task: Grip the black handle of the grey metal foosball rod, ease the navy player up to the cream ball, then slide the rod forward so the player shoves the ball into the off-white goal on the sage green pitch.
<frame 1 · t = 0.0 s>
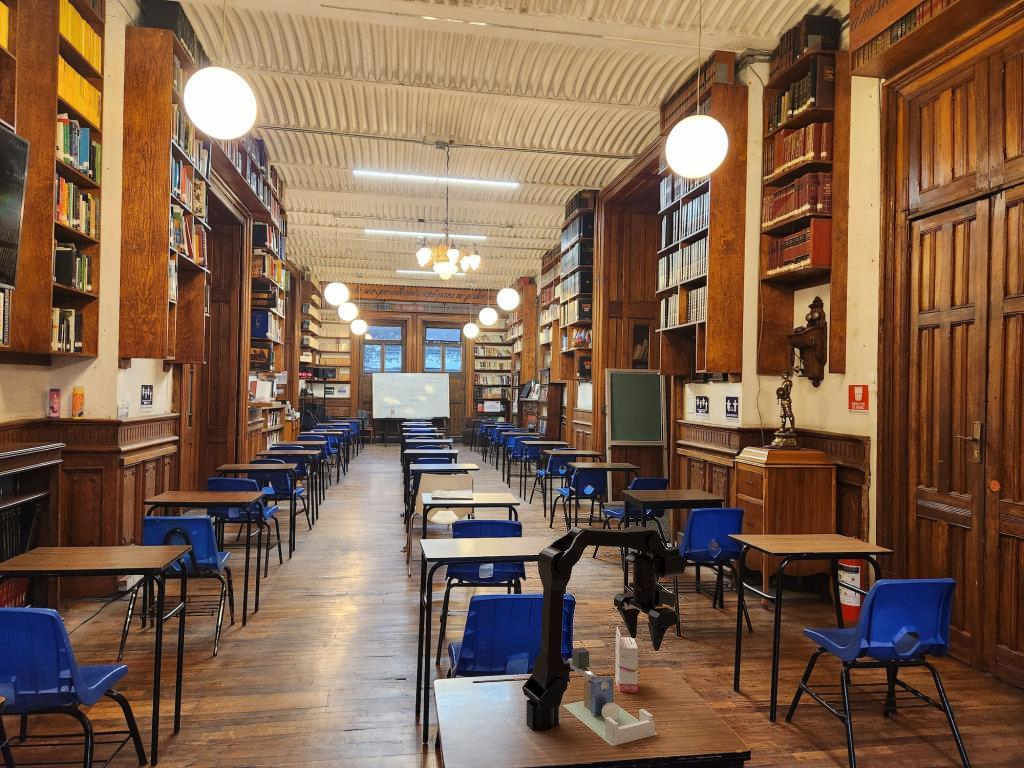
hand: (644, 644, 162), 15 cm above the table, tool pointing down, fingers open, 9 cm apart
goal: (629, 735, 145), resting on pitch
ink cartridge box: (626, 689, 171), on the table
player rod: (587, 677, 160), point 7 cm above the table, slide at 0.0 cm
pitch: (607, 723, 152), on the table
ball: (610, 711, 151), point 3 cm above the table, touching pitch
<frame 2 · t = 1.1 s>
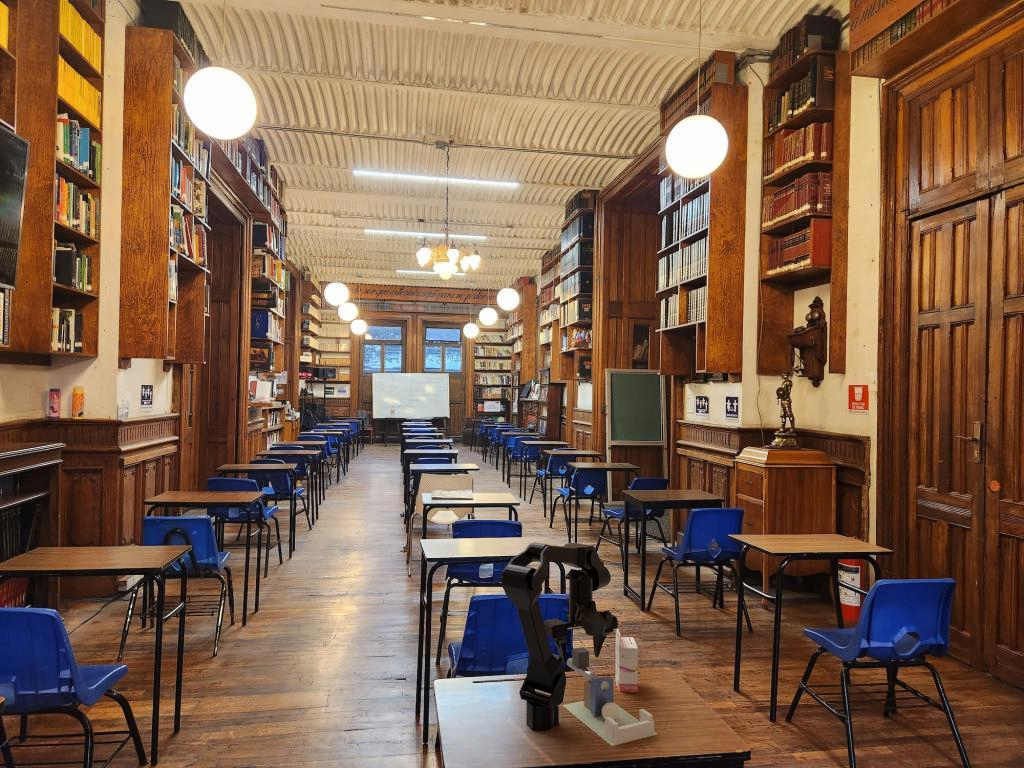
hand: (580, 659, 163), 10 cm above the table, tool pointing down, fingers open, 9 cm apart
nothing on the table moved.
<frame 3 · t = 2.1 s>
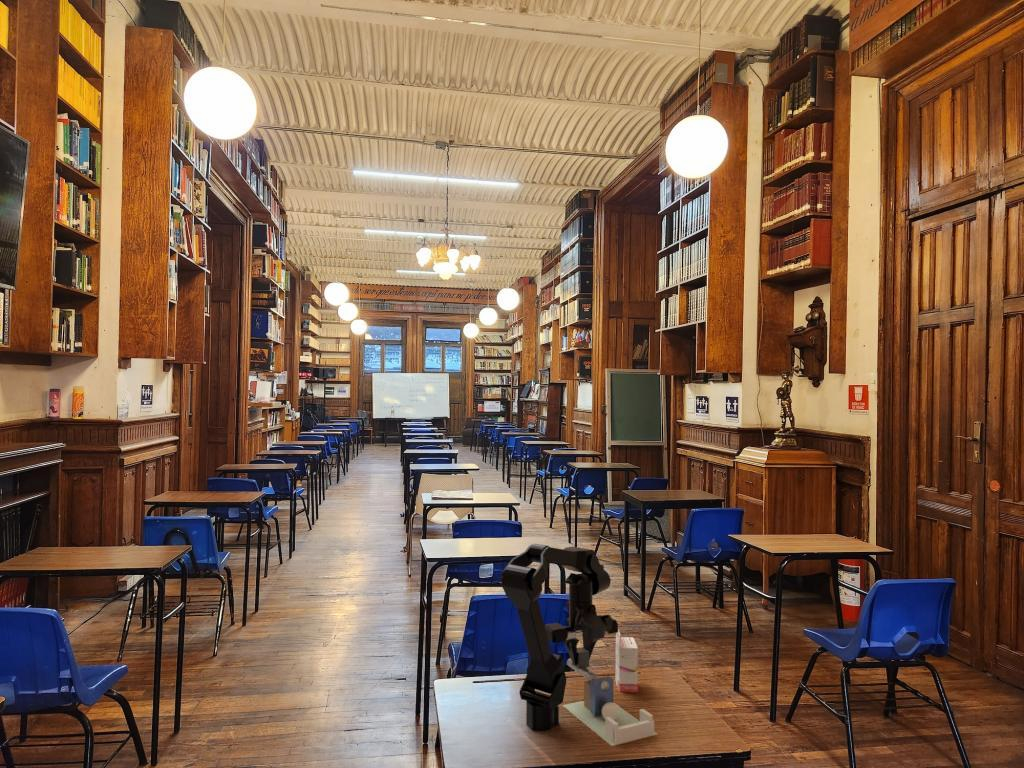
hand: (580, 663, 163), 9 cm above the table, tool pointing down, fingers closed on player rod, 3 cm apart
player rod: (587, 677, 160), point 7 cm above the table, slide at 0.0 cm, touching gripper
everything else where it was.
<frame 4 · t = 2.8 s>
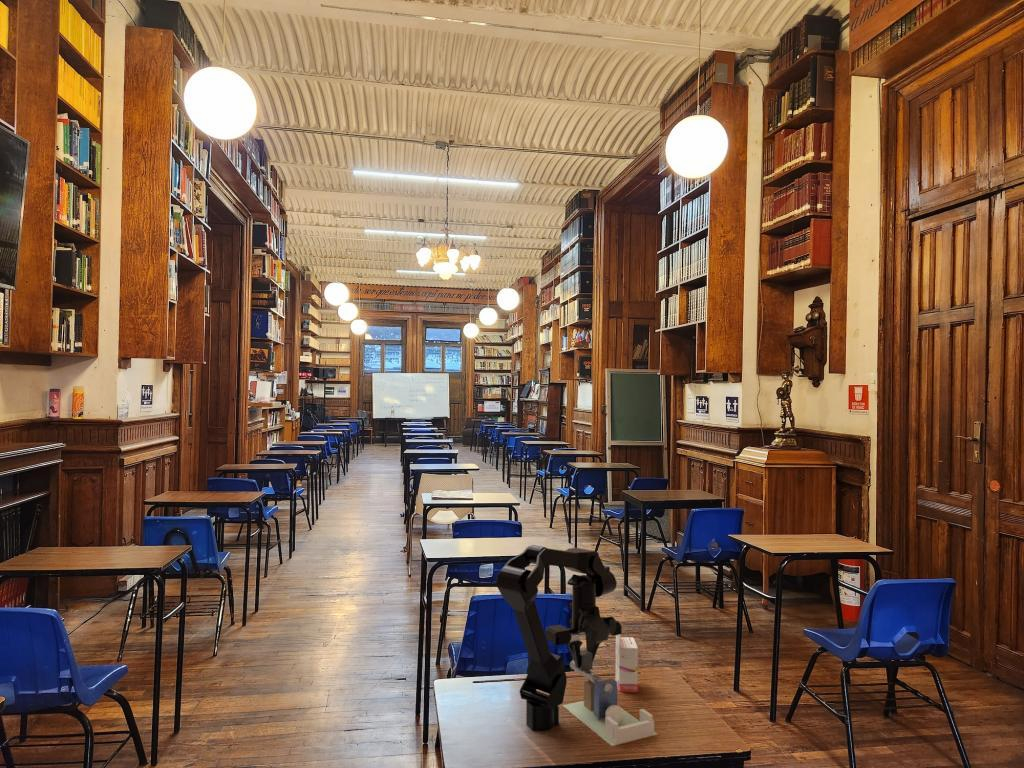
hand: (583, 666, 162), 9 cm above the table, tool pointing down, fingers closed on player rod, 3 cm apart
player rod: (590, 679, 159), point 7 cm above the table, slide at 1.5 cm, touching gripper
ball: (614, 714, 150), point 3 cm above the table, tilted 45°, touching pitch
everything else where it was.
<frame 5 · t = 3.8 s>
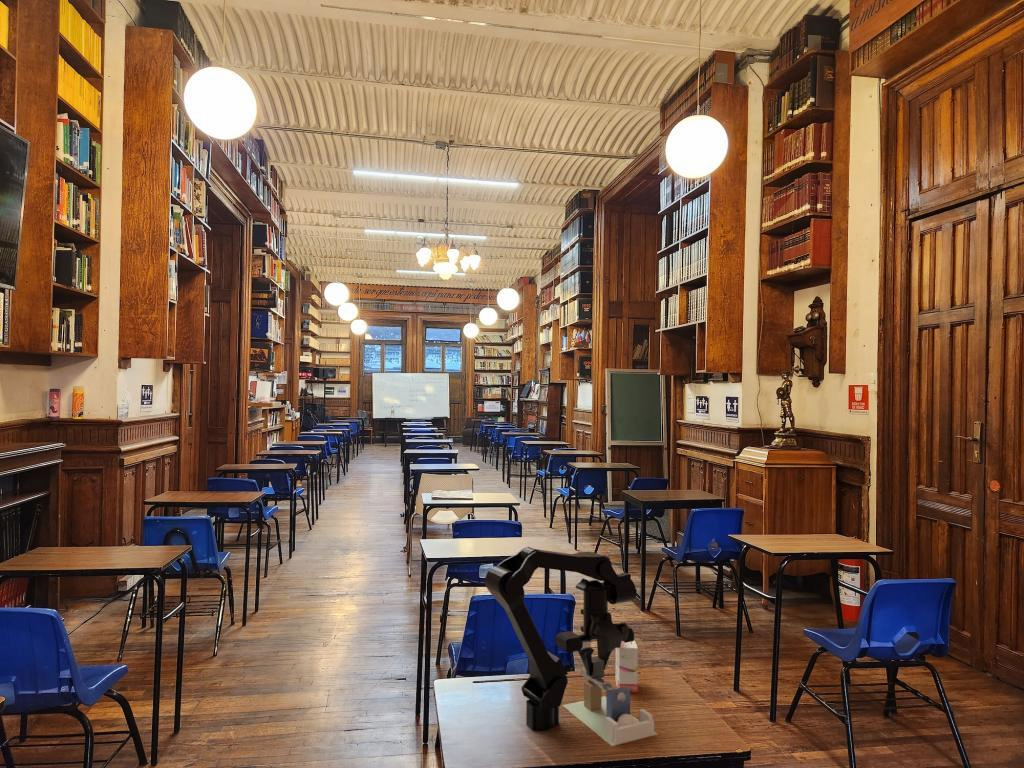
hand: (595, 673, 157), 9 cm above the table, tool pointing down, fingers closed on player rod, 3 cm apart
player rod: (602, 688, 154), point 7 cm above the table, slide at 6.6 cm, touching gripper
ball: (626, 723, 145), point 3 cm above the table, tilted 178°, touching pitch
everything else where it was.
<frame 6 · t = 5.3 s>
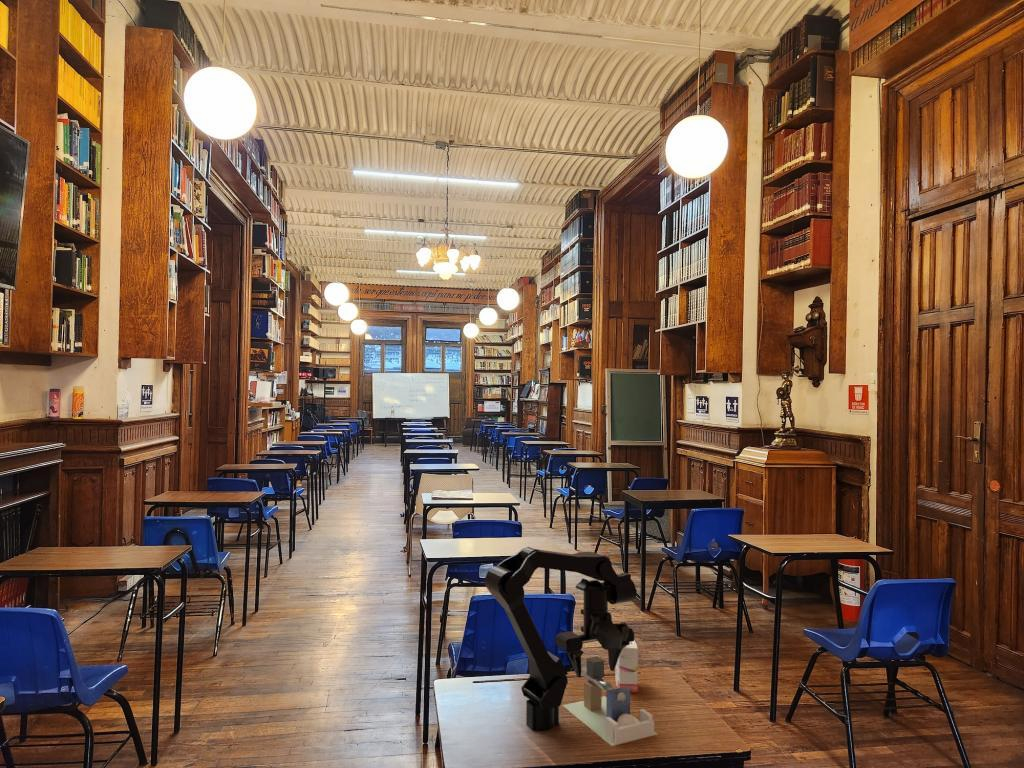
hand: (595, 673, 157), 9 cm above the table, tool pointing down, fingers open, 9 cm apart
player rod: (602, 688, 154), point 7 cm above the table, slide at 6.7 cm
everything else where it was.
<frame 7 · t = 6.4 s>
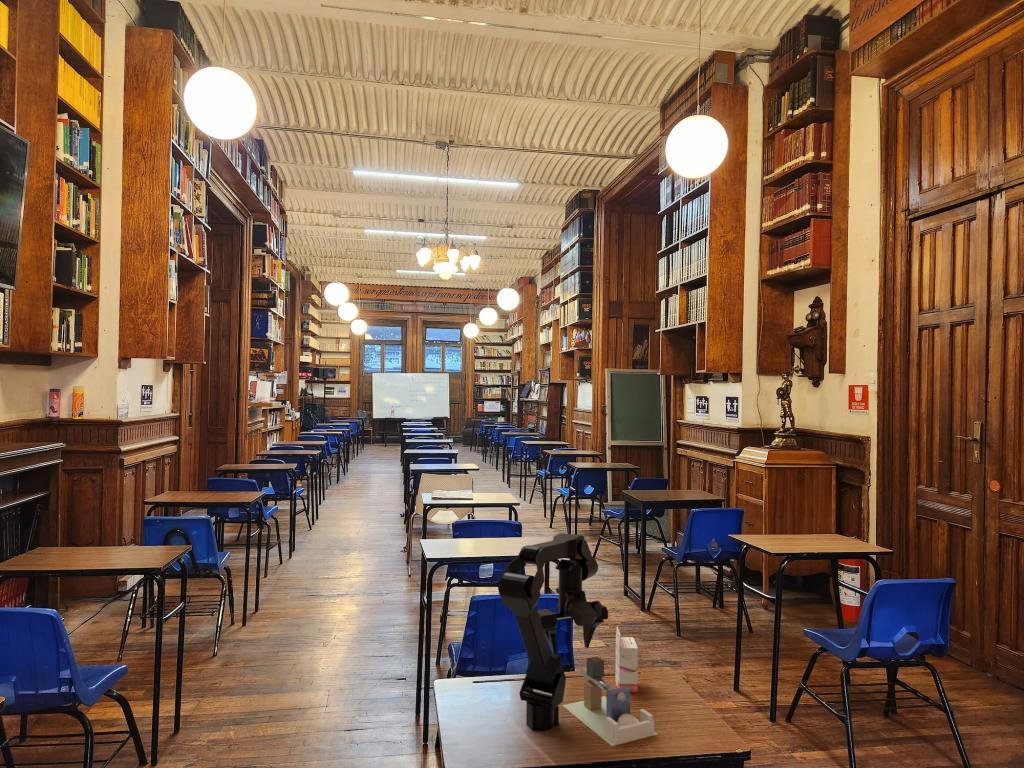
hand: (570, 650, 162), 13 cm above the table, tool pointing down, fingers open, 9 cm apart
nothing on the table moved.
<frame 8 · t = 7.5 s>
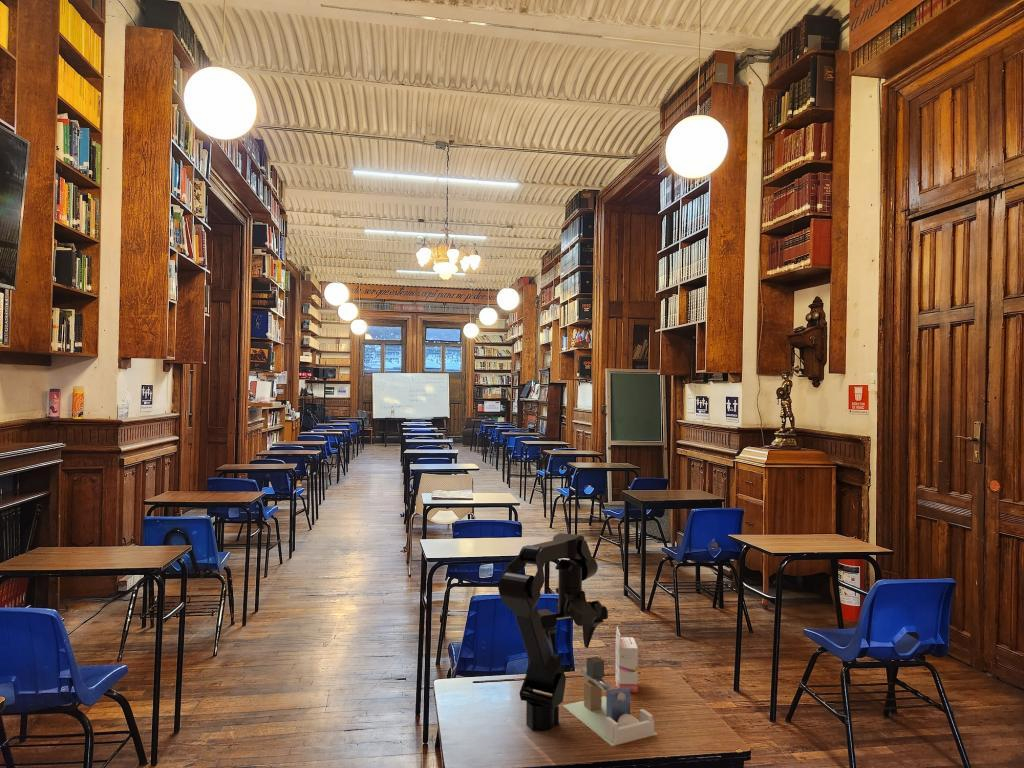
hand: (570, 650, 162), 13 cm above the table, tool pointing down, fingers open, 9 cm apart
nothing on the table moved.
at the end: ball 0.6 cm from the target spot, point 3.0 cm above the table; player rod slide at 6.7 cm; the gripper is holding nothing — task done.
